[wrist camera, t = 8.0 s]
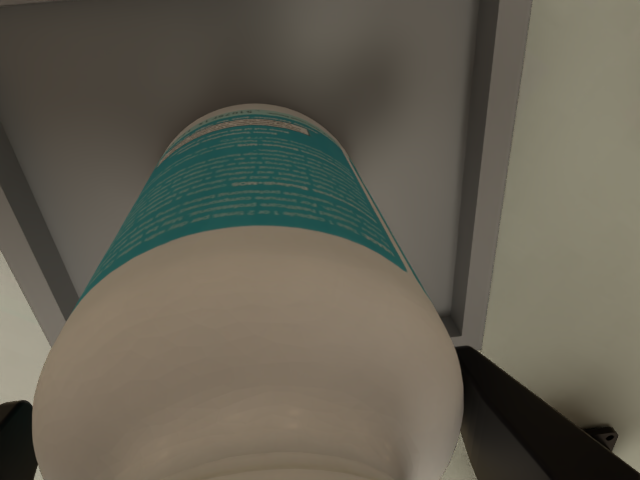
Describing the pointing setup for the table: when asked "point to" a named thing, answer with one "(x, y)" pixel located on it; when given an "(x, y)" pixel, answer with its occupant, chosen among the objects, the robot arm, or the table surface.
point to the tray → (263, 88)
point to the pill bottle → (251, 326)
